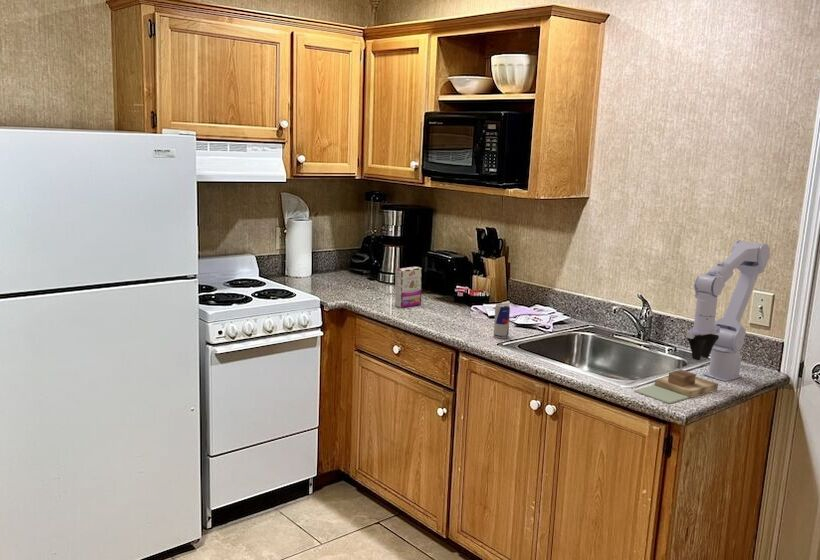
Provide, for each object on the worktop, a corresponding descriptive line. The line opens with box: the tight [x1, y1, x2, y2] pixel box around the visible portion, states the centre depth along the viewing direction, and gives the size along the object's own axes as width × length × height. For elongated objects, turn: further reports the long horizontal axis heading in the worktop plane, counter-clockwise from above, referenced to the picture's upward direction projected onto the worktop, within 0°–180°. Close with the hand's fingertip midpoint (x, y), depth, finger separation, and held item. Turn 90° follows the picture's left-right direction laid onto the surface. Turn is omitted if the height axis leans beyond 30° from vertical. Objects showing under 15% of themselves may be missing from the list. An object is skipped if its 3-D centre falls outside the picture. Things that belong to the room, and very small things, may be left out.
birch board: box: [654, 375, 719, 399], centre depth 224 cm, size 14×12×2 cm
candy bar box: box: [394, 266, 423, 309], centre depth 319 cm, size 11×5×16 cm, turn 129°
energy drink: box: [493, 303, 511, 340], centre depth 274 cm, size 5×5×12 cm
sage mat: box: [633, 384, 690, 405], centre depth 217 cm, size 9×12×1 cm
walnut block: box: [667, 369, 697, 387], centre depth 222 cm, size 6×5×3 cm
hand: (700, 358), depth 226 cm, fingers open, 4 cm apart
